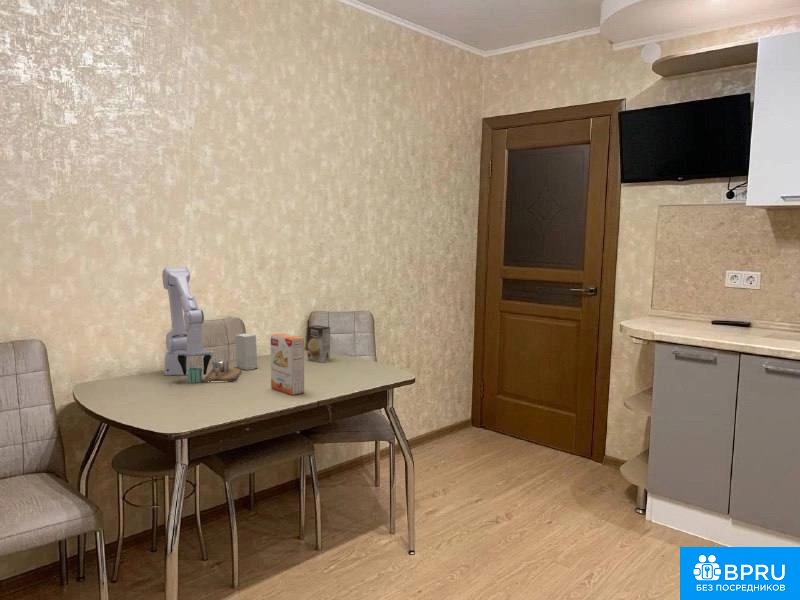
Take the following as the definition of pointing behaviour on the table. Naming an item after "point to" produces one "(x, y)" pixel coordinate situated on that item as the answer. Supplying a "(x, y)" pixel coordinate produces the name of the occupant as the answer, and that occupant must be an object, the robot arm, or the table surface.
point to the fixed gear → (221, 365)
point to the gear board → (223, 375)
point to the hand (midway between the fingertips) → (195, 374)
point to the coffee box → (318, 344)
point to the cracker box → (287, 363)
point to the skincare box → (246, 351)
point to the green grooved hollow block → (194, 374)
